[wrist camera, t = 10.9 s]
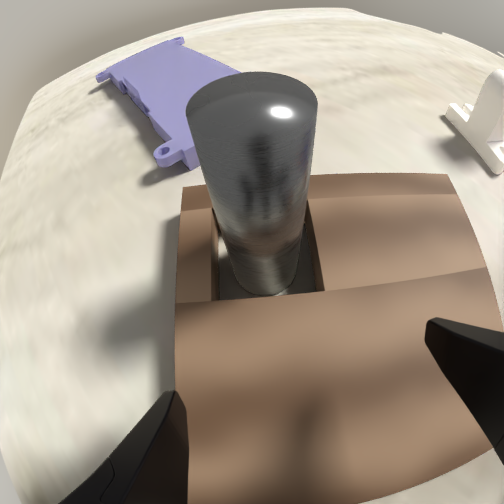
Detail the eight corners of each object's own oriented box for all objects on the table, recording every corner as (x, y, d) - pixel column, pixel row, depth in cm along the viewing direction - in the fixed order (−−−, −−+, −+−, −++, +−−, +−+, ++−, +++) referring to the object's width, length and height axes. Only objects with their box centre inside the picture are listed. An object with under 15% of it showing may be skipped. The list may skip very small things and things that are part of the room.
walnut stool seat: (490, 434, 11) (512, 435, 9) (197, 499, 12) (185, 514, 10) (435, 193, 20) (447, 174, 18) (191, 208, 21) (183, 187, 19)
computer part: (178, 198, 22) (316, 122, 25) (162, 161, 18) (320, 86, 22) (99, 88, 34) (182, 49, 38) (90, 67, 31) (177, 28, 34)
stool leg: (289, 301, 17) (309, 150, 7) (226, 288, 18) (163, 136, 7) (301, 244, 19) (322, 78, 8) (243, 233, 20) (212, 70, 9)
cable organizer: (494, 175, 21) (536, 108, 12) (443, 115, 26) (467, 48, 17) (513, 170, 22) (550, 111, 13) (466, 114, 26) (490, 55, 17)
